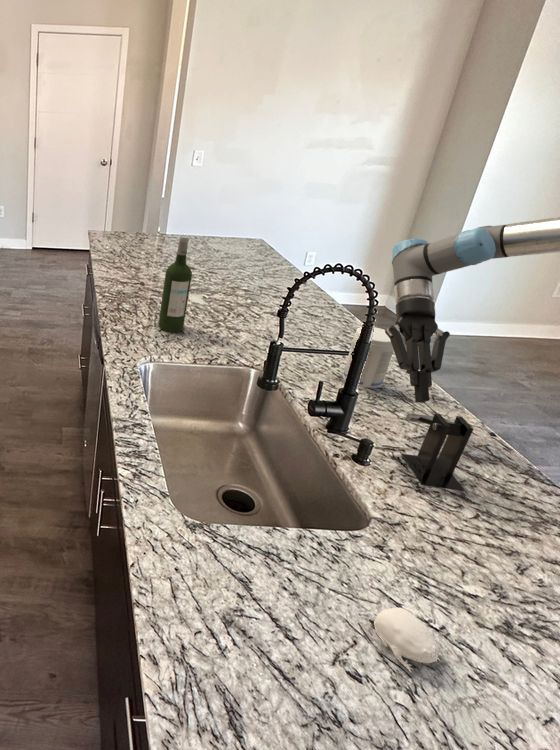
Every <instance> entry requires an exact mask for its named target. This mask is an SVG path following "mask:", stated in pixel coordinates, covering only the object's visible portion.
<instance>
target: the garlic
mask: <svg viewBox="0 0 560 750" xmlns="http://www.w3.org/2000/svg"><path fill="white" fill-rule="evenodd" d="M373 626H374V629H375V633H376V634H377V636H378V637H379V638H380V639H381V641H382V642H383V643H384V646H385V647H387V648H389V649H390V650H391V651H392V653H393V656H394V657H395V658H396V660H398V662H400V664H401V665H403V666H404V667H405V668H406V669H407V670H408V671H409V673H412V671H414V668H412V667H413V665H412V664H410V663H408V660H411V661H415V662H417V663H423V664H431V663H434V662H436V663H438V661H439V662H440V663H442V660H441V659H440V658H439V651H440V647H439V644H438V643H437V641H436V638H435V636H434V635H433V633H432V632H431V631H430V629H429V628H428V627H426V626H425V624H424V623H423V621H421V620H420V619H419V618H418V617H417V616H416V615H414V614H413V613H412V612H410V611H409V610H406V609H405V608H403V607H391V608H386V609H384V610H382V611H380V612H379V613H377V614H376V617H375V620H374V622H373ZM402 657H403V658H405V659H406V660H404V659H403V658H402ZM407 659H408V660H407ZM411 666H412V667H411Z"/></svg>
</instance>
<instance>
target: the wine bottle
mask: <svg viewBox="0 0 560 750" xmlns="http://www.w3.org/2000/svg"><path fill="white" fill-rule="evenodd" d="M189 240H190V238H189V236H188V235H180V236H179V239H178V244H177V245H178V246H177V251H176V256H175V261H174V262H172V263H171V264H170V265H169V266H168V267H167V268H166V269H165V275H164V281H163V289H162V296H161V304H160V310H159V318H158V327H159V329H161V330H162V331H165V332H169V333H178V332H179V333H180V332H181V331H182V330H183V329H184V324H185V319H186V312H187V306H188V302H189V295H190V294H189V293H190V289H191V283H192V278H193V277H192V276H193V273H192V269H191V267H190V266H189V265H188V264H187V256H188V255H187V254H188V247H189Z"/></svg>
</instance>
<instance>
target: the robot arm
mask: <svg viewBox="0 0 560 750" xmlns="http://www.w3.org/2000/svg"><path fill="white" fill-rule="evenodd" d="M554 253H560V216H557V217H556V216H555V217H549V218H541V219H535V220H527V221H521V222H513V223H508V224H499V225H484V226H478V227H476V228H472V229H467V230H464V231H462V232H459V233H457V234H453V235H451V236H447V237H445V238H441V239H439V240H436V241H433V242H428V241H427V240H425V239H423V238H418V237H417V238H411V239H403V240H401V241H399V242H397V243H396V244H395V245H394V246H393V248H392V260H391V266H392V271H393V272H392V273H393V280H394V283H393V284H394V287H393V288H394V289H393V290H394V301H395V317H396V321H395V323H394V325H391V326H389V327H388V328H386V329H384V330H385V333H386V334H387V336H388V337H389V338H390V340H391V343H392V346H393V349H394V351H393V353H394V355H395V359H396V361H397V364H398V367H399V369H400V370H404V371H406V372H405V373H406V374H408V375H409V385H410V386H411V387H413V389H414V400H415V403H420V404H424V403H426V402H428V401H430V389H429V388H431V387H432V386H433V380H432V379H433V378H432V374H433V373H435V372H438V371H439V370H441V368H442V362H443V357H444V353H445V348H446V347H445V346H446V341H447V340H448V338H449V337H450V336H451V332H449V330H448V331H447V330H446V331H444V330H442V329H441V328H439V325H438V323H437V322H436V305H435V302H434V300H435V295H434V294H435V293H434V285H433V276H438V275H442V274H443V273H447V272H451V271H455V270H460V269H463V268H467V267H470V266H477V265H479V264H482V263H484V262H487V261H490V260H493V259H494V260H495V259H503V258H505V259H506V258H511V257H512V258H513V257H522V256H532V255H534V256H535V255H543V254H544V255H545V254H554ZM433 335H434V336H433ZM402 336H403V337H402ZM432 336H433V339H434V341H433V345H432V350H431V341H432V339H431V338H432ZM403 338H404V341H403Z"/></svg>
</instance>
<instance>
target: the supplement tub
mask: <svg viewBox="0 0 560 750" xmlns="http://www.w3.org/2000/svg"><path fill="white" fill-rule="evenodd" d="M362 327H363V326H360V327H358V328H357V329H356V330H355V333H354V337H353V339H352V342H351V345H350V348H349V353H348V356H347V359H346V362H345V366H344V369H343V371H342V372H343V373H342V378H343V380H344V381H345V378H346V376H347V372H348V369H349V366H350V363H351V359H352V355H351V353H352V351H353V349H354V348H355V345H356V342H357V340H358V338H359V336H360V333H361V329H362ZM373 327H374V332H373V338H372V342H371V345H370V350H369V354H368V358H367V360H366V363H365V366H364V369H363V372H362V375H361V379H360V383H359V386H358V387H363V388H369V389H377V388H381V387H382V386H383V384H384V381H385V378H386V374H387V372H388V368H389V366H390V363H391V360H392V357H393V353H394V349H393V346H392V343H391V340H390V338H389V337H388V336H387V334H386V333H385V330H386V329H383V328H380V327H375V326H373Z"/></svg>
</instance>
